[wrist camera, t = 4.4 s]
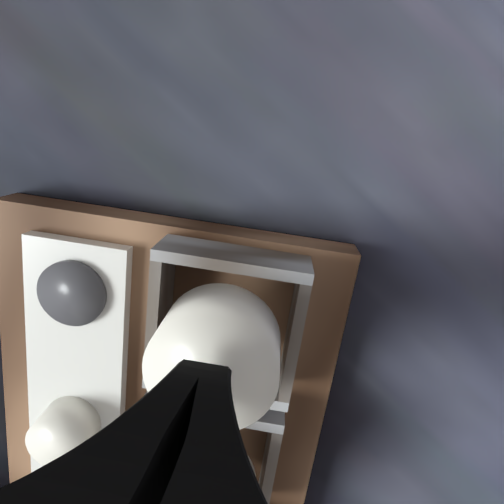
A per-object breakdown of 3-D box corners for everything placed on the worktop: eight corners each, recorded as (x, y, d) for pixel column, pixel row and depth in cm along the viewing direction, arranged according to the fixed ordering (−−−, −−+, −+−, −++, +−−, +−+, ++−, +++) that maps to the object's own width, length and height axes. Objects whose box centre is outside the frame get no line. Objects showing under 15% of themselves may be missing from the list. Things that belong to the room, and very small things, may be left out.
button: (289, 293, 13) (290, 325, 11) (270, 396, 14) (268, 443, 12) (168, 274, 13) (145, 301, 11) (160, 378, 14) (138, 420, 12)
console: (354, 244, 16) (372, 274, 13) (283, 562, 22) (282, 641, 18) (17, 192, 17) (-50, 209, 13) (31, 516, 22) (-15, 585, 19)
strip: (133, 246, 15) (110, 264, 13) (118, 548, 20) (99, 594, 18) (31, 230, 15) (-7, 245, 13) (41, 534, 20) (14, 578, 18)
